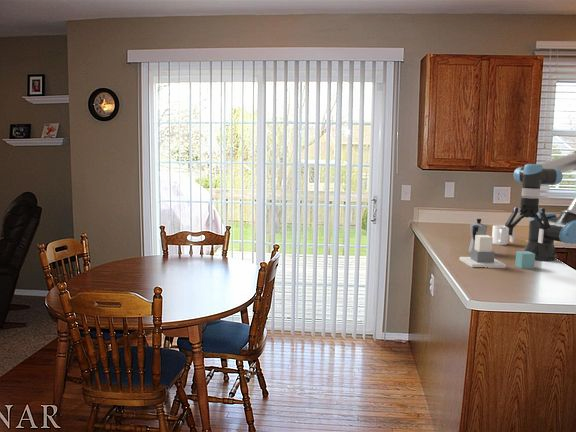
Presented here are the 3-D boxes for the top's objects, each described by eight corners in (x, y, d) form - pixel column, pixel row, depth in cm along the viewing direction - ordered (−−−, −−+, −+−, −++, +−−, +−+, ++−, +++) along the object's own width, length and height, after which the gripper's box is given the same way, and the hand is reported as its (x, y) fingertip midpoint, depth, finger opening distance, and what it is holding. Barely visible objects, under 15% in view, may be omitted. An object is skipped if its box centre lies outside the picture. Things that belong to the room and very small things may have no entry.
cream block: (486, 249, 238) (487, 235, 238) (491, 251, 233) (492, 237, 232) (474, 249, 238) (475, 234, 237) (479, 251, 232) (480, 237, 232)
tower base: (491, 260, 244) (492, 247, 243) (505, 267, 228) (506, 254, 228) (459, 259, 244) (460, 246, 243) (471, 267, 228) (472, 253, 227)
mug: (492, 245, 282) (493, 227, 281) (491, 242, 293) (492, 224, 292) (508, 246, 279) (510, 228, 278) (506, 243, 291) (508, 225, 289)
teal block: (527, 265, 234) (528, 251, 233) (534, 268, 228) (535, 253, 227) (515, 265, 234) (516, 251, 233) (521, 268, 228) (522, 253, 227)
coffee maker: (471, 248, 272) (473, 216, 269) (488, 251, 267) (490, 218, 264) (463, 253, 260) (466, 219, 257) (481, 255, 255) (483, 221, 252)
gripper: (552, 197, 231) (547, 241, 233) (499, 195, 230) (496, 240, 233) (561, 198, 223) (556, 244, 226) (507, 197, 223) (503, 243, 225)
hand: (525, 242), depth 229 cm, fingers open, 13 cm apart
